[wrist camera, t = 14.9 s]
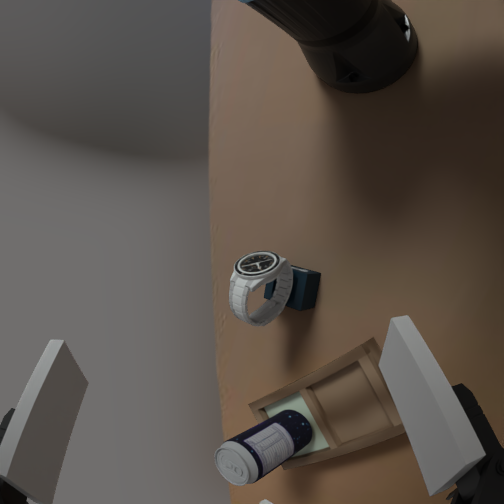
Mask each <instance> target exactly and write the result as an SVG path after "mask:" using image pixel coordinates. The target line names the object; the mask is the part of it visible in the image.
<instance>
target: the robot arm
mask: <svg viewBox="0 0 504 504" xmlns="http://www.w3.org/2000/svg"><path fill="white" fill-rule="evenodd" d="M239 1H240V2H242V3H245V4H247V5H248V6H250V7H251V8H253V9H254V10H256V11H257V12H259V13H260V14H262V15H263V16H264V17H266V18H267V19H269V20H270V21H271V22H273V23H274V24H276V25H277V26H278V27H280V28H281V29H282V30H284V31H285V32H286V33H288V34H289V35H290V36H291V37H293V38H294V39H295V40H296V41H297V42H298V44H299V46H300V48H301V50H302V52H303V54H304V56H305V57H306V60H307V62H308V64H309V65H310V67H311V69H312V70H313V71H314V72H315V73H316V75H318V76H319V77H320V78H321V79H322V80H323V81H325V82H326V83H327V84H328V85H330V86H331V87H333V88H335V89H338V90H340V91H344V92H349V93H366V92H372V91H375V90H379V89H381V88H384V87H386V86H388V85H390V84H392V83H393V82H395V81H396V80H397V79H399V78H400V77H401V76H402V75H403V74H404V73H405V72H406V71H407V70H408V68H409V67H410V66H411V64H412V62H413V60H414V58H415V55H416V51H417V36H416V33H415V30H414V28H413V26H412V24H411V22H410V20H409V18H408V17H407V15H406V14H405V13H404V11H403V10H402V9H401V8H400V7H399V6H397V5H396V4H395V3H393V2H392V1H391V0H239ZM379 368H380V370H381V372H382V375H383V377H384V379H385V382H386V384H387V386H388V389H389V391H390V393H391V396H392V398H393V400H394V403H395V405H396V408H397V410H398V413H399V415H400V418H401V420H402V422H403V425H404V428H405V430H406V433H407V435H408V438H409V440H410V443H411V445H412V448H413V451H414V453H415V456H416V459H417V461H418V464H419V467H420V470H421V472H422V475H423V478H424V481H425V484H426V487H427V490H428V492H429V495H430V496H432V495H435V494H437V493H440V492H442V491H444V490H447V489H449V488H450V487H451V486H452V485H453V484H455V483H456V485H457V488H456V489H455V490H454V491H453V492H451V493H450V494H449V495H448V497H447V498H446V500H449V499H450V498H452V497H453V499H452V501H451V504H504V449H503V448H502V446H501V445H500V443H499V442H498V440H497V438H496V436H495V434H494V432H493V430H492V428H491V426H490V424H489V422H488V420H487V418H486V417H485V415H484V414H483V411H482V409H481V408H480V406H479V405H478V402H477V400H476V399H475V397H474V395H473V393H472V392H471V391H470V390H469V389H468V388H466V387H465V386H464V385H463V384H462V383H461V384H458V385H455V386H452V387H451V386H450V384H449V382H448V380H447V379H446V377H445V375H444V373H443V372H442V370H441V368H440V366H439V365H438V363H437V361H436V360H435V358H434V356H433V355H432V353H431V351H430V350H429V348H428V346H427V345H426V343H425V341H424V340H423V338H422V337H421V335H420V333H419V332H418V330H417V329H416V327H415V325H414V324H413V322H412V321H411V319H410V318H409V316H408V315H406V316H400V317H394V318H391V321H390V325H389V329H388V333H387V337H386V340H385V344H384V348H383V351H382V355H381V358H380V362H379ZM87 386H88V381H87V380H86V378H85V376H84V375H83V373H82V372H81V370H80V368H79V366H78V365H77V363H76V361H75V359H74V358H73V356H72V354H71V352H70V350H69V348H68V346H67V345H66V343H65V341H64V340H50V342H49V343H48V345H47V347H46V349H45V351H44V353H43V354H42V356H41V358H40V360H39V362H38V364H37V366H36V368H35V370H34V372H33V374H32V376H31V378H30V380H29V382H28V384H27V386H26V388H25V390H24V392H23V395H22V396H21V398H20V401H19V403H18V405H17V407H16V409H13V408H11V410H10V411H9V412H8V413H7V414H6V415H5V416H4V418H3V421H2V423H1V425H0V504H28V502H27V501H26V500H27V497H28V498H30V499H31V500H33V501H34V502H36V503H39V504H52V502H53V498H54V494H55V490H56V486H57V482H58V478H59V474H60V470H61V467H62V463H63V460H64V456H65V453H66V450H67V446H68V443H69V440H70V436H71V433H72V430H73V427H74V424H75V420H76V418H77V415H78V412H79V409H80V406H81V403H82V400H83V397H84V394H85V391H86V388H87Z"/></svg>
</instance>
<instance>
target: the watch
mask: <svg viewBox="0 0 504 504" xmlns="http://www.w3.org/2000/svg"><path fill="white" fill-rule="evenodd" d="M320 275H321V273H319V272H315V271H311V270H308V269H304V268H300V267H296V266H293V265H290V263H289V261H288V260H287V259H285V258H282V257H280V256H279V255H278V254H277V253H274V252H271V251H257V252H253V253H250V254H247V255H245V256H243V257H241V258H240V259H239V260H238V261H237V262H236V263H235V265H234V272H233V274H232V277H231V279H230V283H231V285H230V291H229V303H230V306H231V307H230V308H231V310H232V312H233V313H234V315H235V316H236V317H237V318H238V319H240V320H242V321H244V322H247V323H249V324H251V325H253V326H265V325H267V324H268V323H270V322H271V321H272V320H274V319H275V318H276V317H277V316H278V315H279V314H280V313H281V312H282V311H283V310H284V308H285V307H284V306H288V307H291V308H293V309H296V310H299V311H302V310H306V309H310V308H314V306H315V301H316V296H317V291H318V286H319V281H320ZM264 284H266V287H265V293H264V298H266V299H268V300H267V301H266V302H265V303H264V304H263V305H262V306H261V307H260V308H259V309H257V310H256V311H254V312H253V313H251V315H250V316H249V314H248V312H247V311H248V310H247V305H246V304H247V300H248V297H247V296H248V295H249V291H251V292H253V291H255V290H256V289H257V288H259V287H260V286H261V285H264Z"/></svg>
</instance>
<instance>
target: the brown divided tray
mask: <svg viewBox="0 0 504 504" xmlns="http://www.w3.org/2000/svg"><path fill="white" fill-rule="evenodd" d="M381 355H382V351H381V349H380V348H379V346H378V344H377V342H376V341H375V339H374V337H373V338H371V339H370V340H368V341H366V342H365V343H363V344H361V345H360V346H358V347H356V348H355V349H353V350H351V351H350V352H348V353H346V354H345V355H343V356H341V357H339V358H338V359H336V360H334V361H332V362H331V363H329V364H327V365H325V366H323V367H322V368H320V369H318V370H316V371H314V372H312V373H311V374H309V375H307V376H305V377H303V378H301V379H299V380H297V381H295V382H293V383H291V384H289V385H287V386H285V387H283V388H281V389H279V390H277V391H275V392H273V393H271V394H269V395H267V396H265V397H263V398H261V399H259V400H257V401H255V402H252V403H250V404H248V405H249V407H250V409H251V410H252V412H253V414H254V416H255V418H256V420H257V422H258V424H260V423H262V422H263V421H265V420H267V419H269V418H271V417H272V416H274V415H276V414H278V413H279V412H281V411H283V410H287V409H290V410H295V411H297V412H299V413H301V414H302V415H304V416H305V417H306V418H307V419H308V421H309V423H310V425H311V428H312V439H311V441H310V443H309V444H308V445H306V446H305V447H304V448H303V449H301V450H300V451H299V452H297V453H296V454H295V455H293V456H292V457H291V458H289V459H288V460H287V461H285V462H284V463H282V464H281V465H282V467H283V469H284V470H287V469H291V468H296V467H300V466H304V465H308V464H312V463H316V462H320V461H323V460H327V459H331V458H334V457H338V456H341V455H344V454H347V453H351V452H354V451H357V450H360V449H363V448H366V447H369V446H371V445H374V444H377V443H380V442H382V441H385V440H388V439H390V438H393V437H395V436H398V435H400V434H403V433H405V432H406V430H405V428H404V425H403V422H402V420H401V418H400V415H399V413H398V410H397V408H396V405H395V403H394V400H393V398H392V396H391V393H390V391H389V389H388V386H387V384H386V382H385V379H384V377H383V375H382V372H381V370H380V368H379V362H380V358H381Z"/></svg>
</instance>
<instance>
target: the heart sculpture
mask: <svg viewBox="0 0 504 504" xmlns="http://www.w3.org/2000/svg"><path fill="white" fill-rule="evenodd" d="M259 504H273V503H271V502H269V501H268V500H266V499H265V500H263V501H261V502H260V503H259Z"/></svg>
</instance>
